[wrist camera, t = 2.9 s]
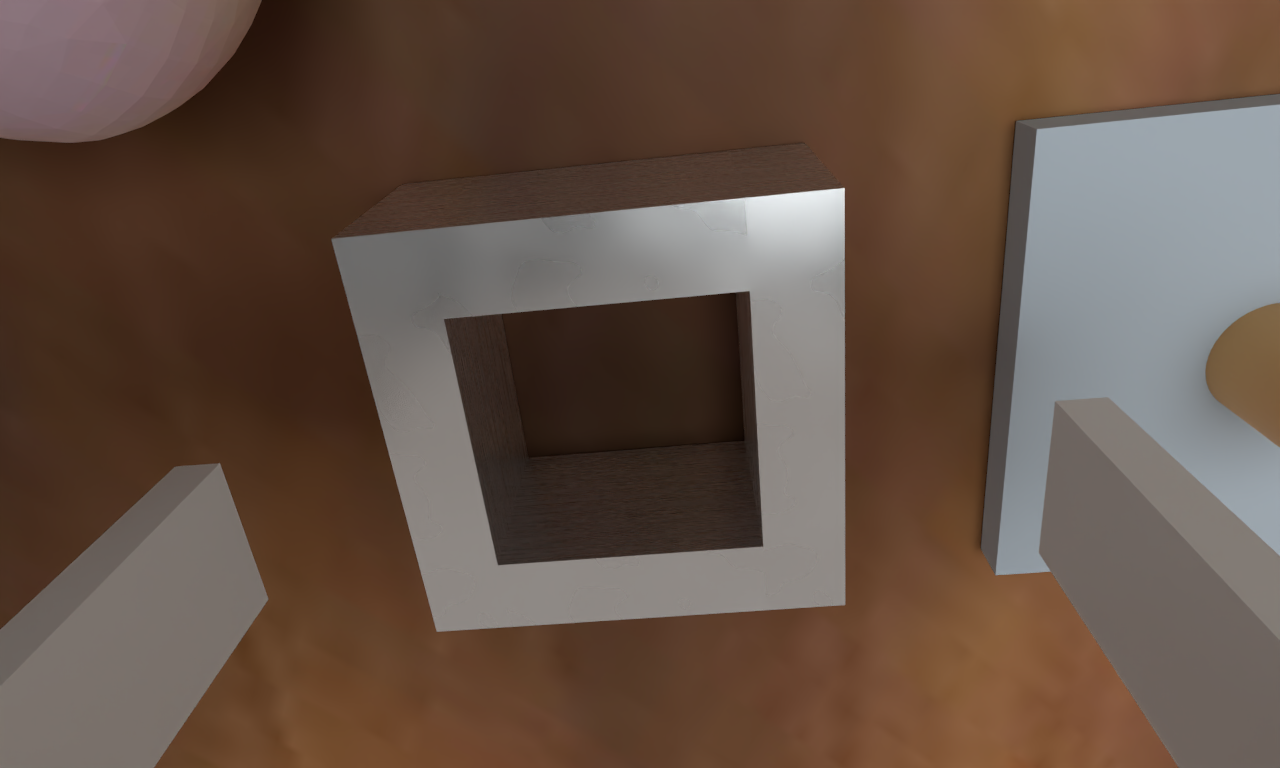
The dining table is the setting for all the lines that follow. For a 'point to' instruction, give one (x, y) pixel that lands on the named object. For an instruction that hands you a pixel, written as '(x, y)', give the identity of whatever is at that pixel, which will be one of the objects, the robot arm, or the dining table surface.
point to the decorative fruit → (108, 62)
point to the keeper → (1141, 303)
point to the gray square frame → (626, 479)
